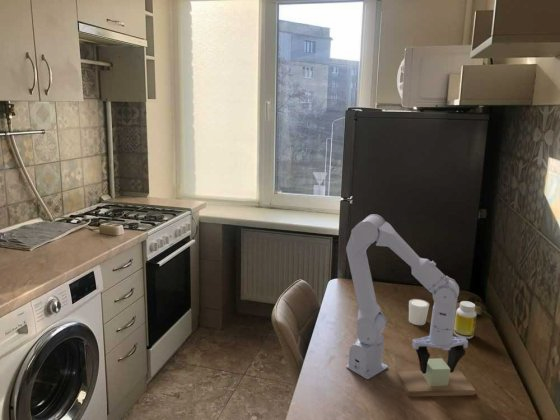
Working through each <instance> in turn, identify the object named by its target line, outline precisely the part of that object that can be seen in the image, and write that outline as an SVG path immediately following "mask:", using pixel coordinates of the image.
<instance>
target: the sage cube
mask: <svg viewBox="0 0 560 420" xmlns="http://www.w3.org/2000/svg"><path fill="white" fill-rule="evenodd" d="M449 375H450V368H449V366H448V365H447V362H446V361H444V359H443V358H441V357H439V358H438V357H437V358H429V359H428V363H427V371H426V374H423V377H424V378H425V380H426V381H427V382H428V384H429V385H430V386H446V385H448V383H449Z"/></svg>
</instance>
